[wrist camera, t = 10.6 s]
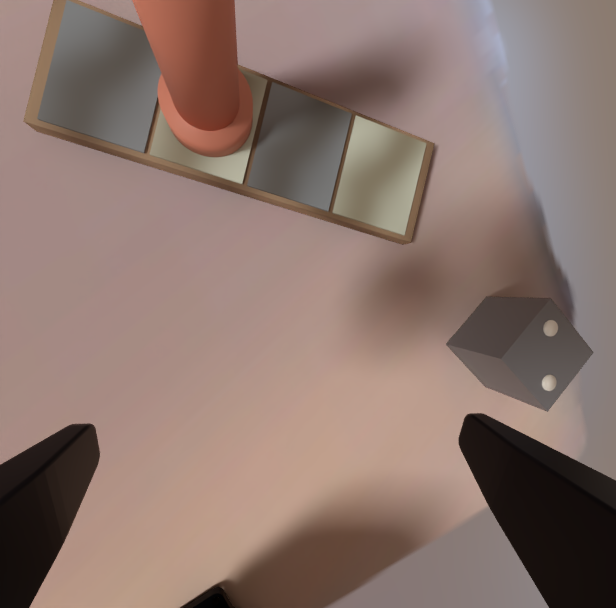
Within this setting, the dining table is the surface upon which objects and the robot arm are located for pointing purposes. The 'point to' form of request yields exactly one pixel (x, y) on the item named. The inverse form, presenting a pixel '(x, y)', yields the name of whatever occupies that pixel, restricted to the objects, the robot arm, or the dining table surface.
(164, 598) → the dining table surface
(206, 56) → the pawn
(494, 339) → the die
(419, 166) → the board
